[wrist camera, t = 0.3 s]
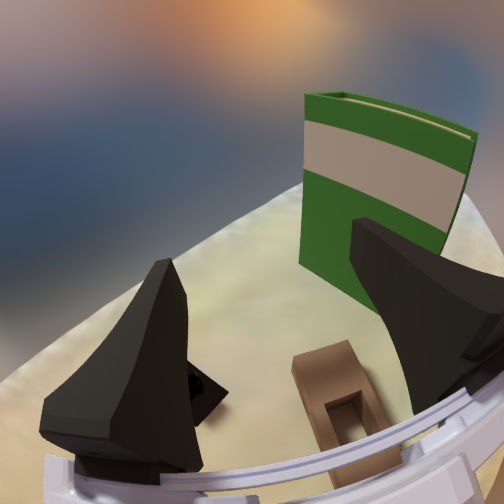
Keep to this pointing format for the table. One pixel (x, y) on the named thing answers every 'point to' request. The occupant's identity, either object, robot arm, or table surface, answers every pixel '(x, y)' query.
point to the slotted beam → (337, 394)
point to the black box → (203, 393)
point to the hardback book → (376, 178)
